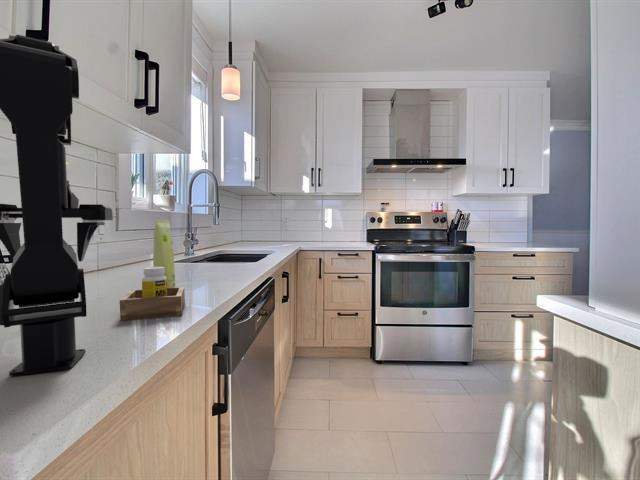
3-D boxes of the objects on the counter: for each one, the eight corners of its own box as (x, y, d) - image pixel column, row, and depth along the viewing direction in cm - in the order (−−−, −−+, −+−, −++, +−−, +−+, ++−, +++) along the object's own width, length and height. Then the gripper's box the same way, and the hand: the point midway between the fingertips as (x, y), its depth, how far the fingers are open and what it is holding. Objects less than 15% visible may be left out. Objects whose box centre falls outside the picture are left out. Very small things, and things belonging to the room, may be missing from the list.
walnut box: (181, 315, 71) (181, 296, 71) (120, 320, 68) (119, 300, 67) (184, 303, 81) (184, 286, 81) (132, 307, 78) (131, 289, 78)
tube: (180, 301, 84) (178, 219, 83) (158, 305, 80) (155, 219, 79) (171, 297, 88) (168, 219, 87) (149, 301, 84) (147, 219, 83)
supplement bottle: (157, 310, 71) (156, 269, 71) (137, 309, 72) (135, 269, 72) (172, 305, 76) (171, 266, 75) (153, 304, 77) (151, 266, 76)
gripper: (118, 179, 71) (120, 256, 72) (5, 176, 66) (9, 259, 66) (102, 172, 61) (106, 262, 62) (-34, 167, 55) (-28, 266, 56)
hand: (50, 262), depth 62 cm, fingers open, 9 cm apart
